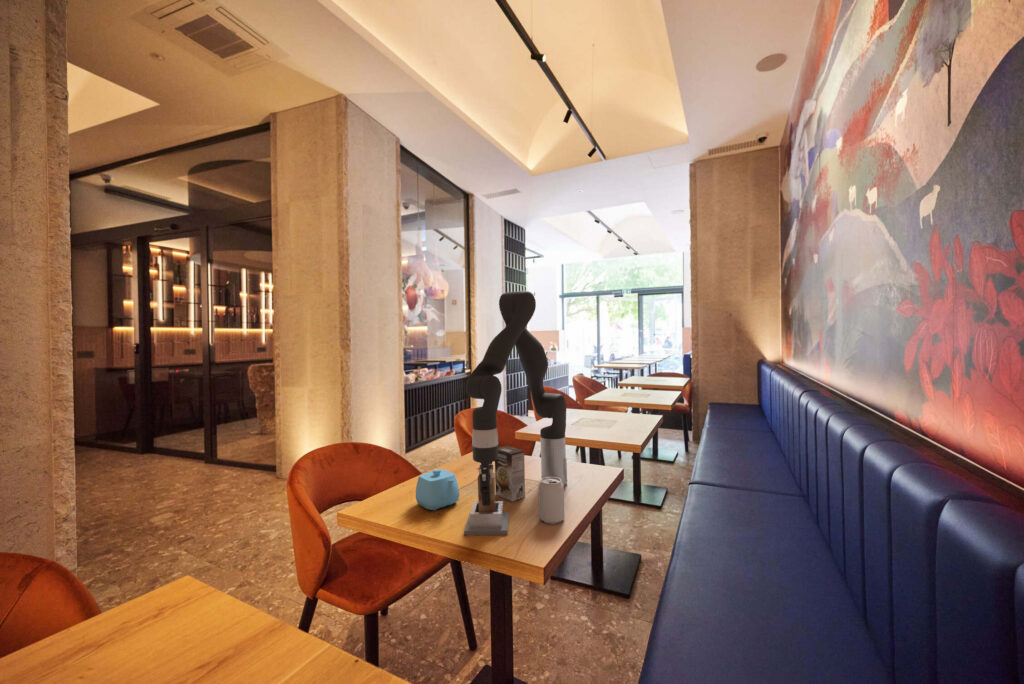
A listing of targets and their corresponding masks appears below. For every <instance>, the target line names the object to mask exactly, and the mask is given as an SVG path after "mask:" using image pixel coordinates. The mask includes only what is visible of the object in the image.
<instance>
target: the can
mask: <svg viewBox="0 0 1024 684" xmlns="http://www.w3.org/2000/svg"><path fill="white" fill-rule="evenodd" d="M564 486H565V485H563V483H562V482H561V479H560V478H557V477H544V478H541V479H540V482H539V483H538V512H539V519H540V520H541V521H542V522H543V521H544V522H543V523H545V524H548V523H549V524H548V525H555V524H556V523H557V524H559V522H560V523H561V522H562V521H563V520H564V519H565V518H566V515H565V514H566V513H565V487H564Z"/></svg>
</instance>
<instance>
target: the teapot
mask: <svg viewBox="0 0 1024 684" xmlns="http://www.w3.org/2000/svg"><path fill="white" fill-rule="evenodd" d="M459 498H460V488H459V483H458V479H457V477H456V474H455V473H453V472H451V471H449V470H446V469H440V468H435V469H433V470H432V471H427V472H426V473H423V474H421V475H418V478H417V483H416V488H415V499H416V502H417V504H418V505H419V506H422V507H423V508H425V509H427V510H430V511H438V510H439V509H440V508H441V509H442V508H444V507H447V505H450V506H452V505H453V504H455V503H457V502H458V501H459ZM451 504H452V505H451ZM437 509H438V510H437Z"/></svg>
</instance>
